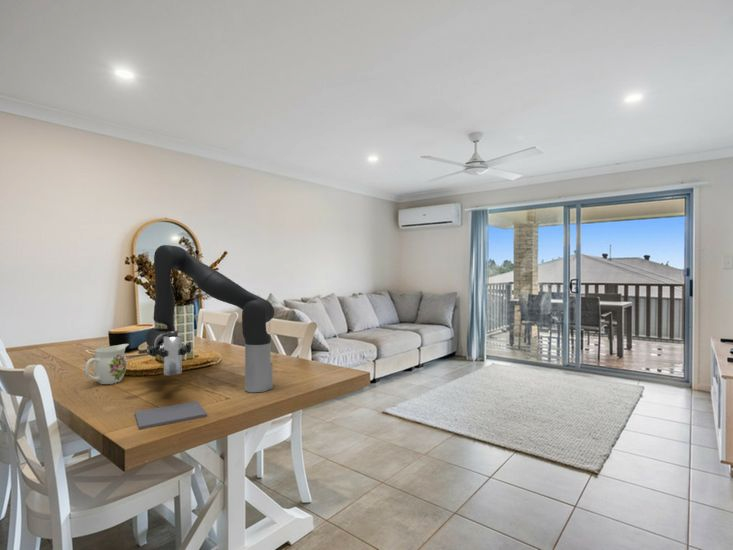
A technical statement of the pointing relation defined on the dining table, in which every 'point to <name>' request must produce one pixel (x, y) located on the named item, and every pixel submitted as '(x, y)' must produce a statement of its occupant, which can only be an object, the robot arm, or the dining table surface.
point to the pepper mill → (172, 353)
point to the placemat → (169, 414)
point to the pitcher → (108, 364)
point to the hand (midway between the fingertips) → (173, 353)
